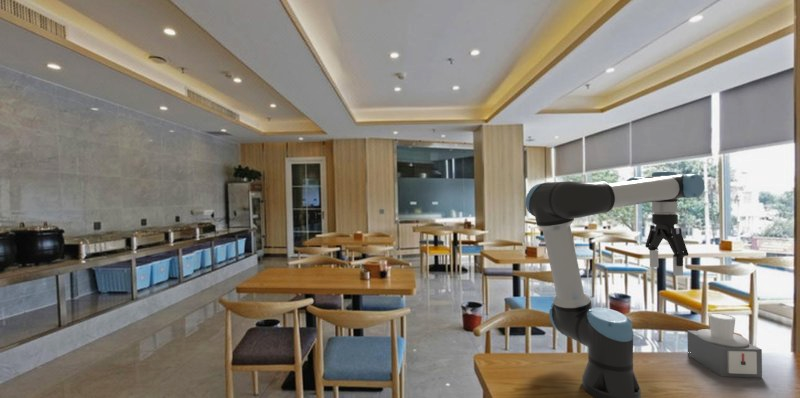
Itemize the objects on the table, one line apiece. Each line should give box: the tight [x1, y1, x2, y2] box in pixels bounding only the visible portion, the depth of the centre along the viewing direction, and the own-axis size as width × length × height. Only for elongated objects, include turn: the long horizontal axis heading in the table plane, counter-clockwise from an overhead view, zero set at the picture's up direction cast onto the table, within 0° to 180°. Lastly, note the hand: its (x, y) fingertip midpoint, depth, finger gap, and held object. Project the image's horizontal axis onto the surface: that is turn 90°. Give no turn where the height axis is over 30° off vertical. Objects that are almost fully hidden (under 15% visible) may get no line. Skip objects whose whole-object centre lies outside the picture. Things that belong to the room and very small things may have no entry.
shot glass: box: [707, 312, 736, 340], centre depth 119 cm, size 7×7×7 cm
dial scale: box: [686, 328, 763, 379], centre depth 118 cm, size 13×16×10 cm
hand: (665, 271), depth 128 cm, fingers open, 13 cm apart
